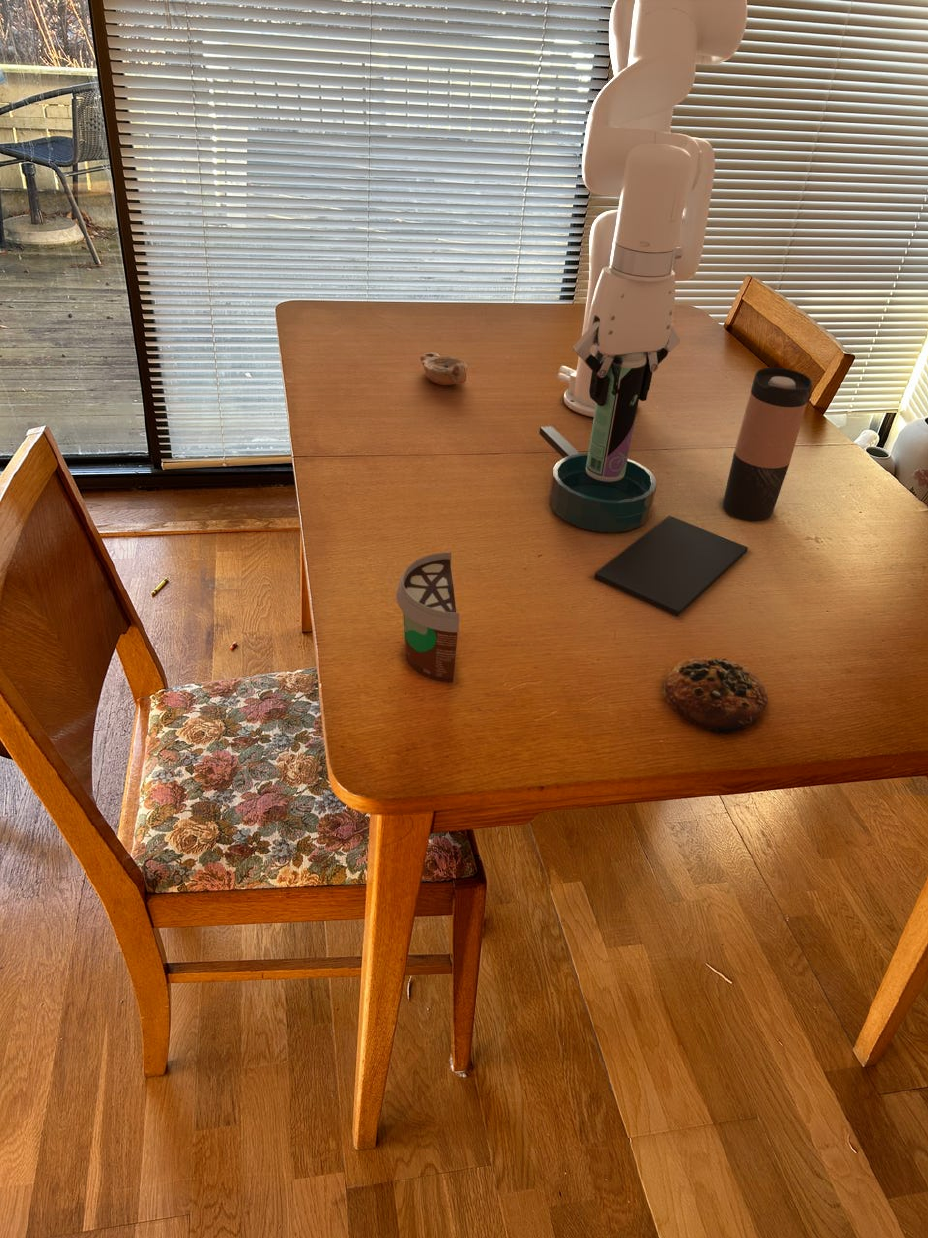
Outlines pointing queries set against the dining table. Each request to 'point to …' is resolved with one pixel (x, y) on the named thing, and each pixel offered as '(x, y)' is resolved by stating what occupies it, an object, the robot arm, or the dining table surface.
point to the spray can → (616, 419)
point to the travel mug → (766, 442)
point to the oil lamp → (444, 369)
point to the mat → (671, 565)
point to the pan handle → (557, 441)
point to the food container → (430, 616)
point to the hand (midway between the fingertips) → (618, 397)
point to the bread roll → (715, 694)
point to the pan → (601, 496)
